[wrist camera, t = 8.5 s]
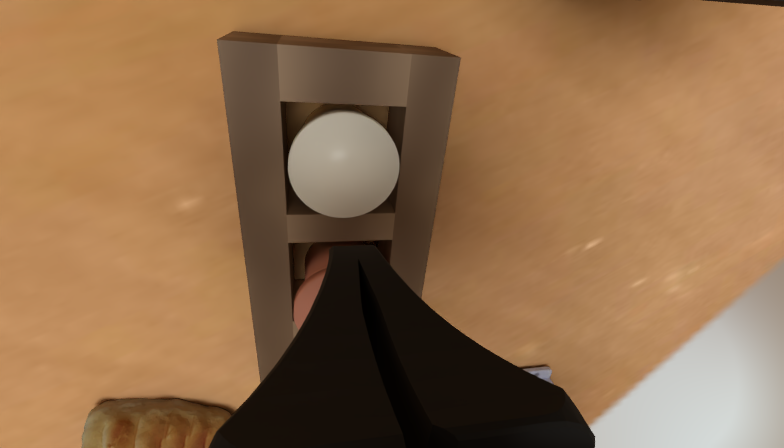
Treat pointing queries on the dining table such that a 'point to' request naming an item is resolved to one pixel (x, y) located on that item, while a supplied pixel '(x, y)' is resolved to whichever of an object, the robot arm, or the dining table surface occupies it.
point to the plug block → (270, 158)
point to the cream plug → (342, 162)
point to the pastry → (152, 424)
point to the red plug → (314, 277)
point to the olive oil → (755, 2)
